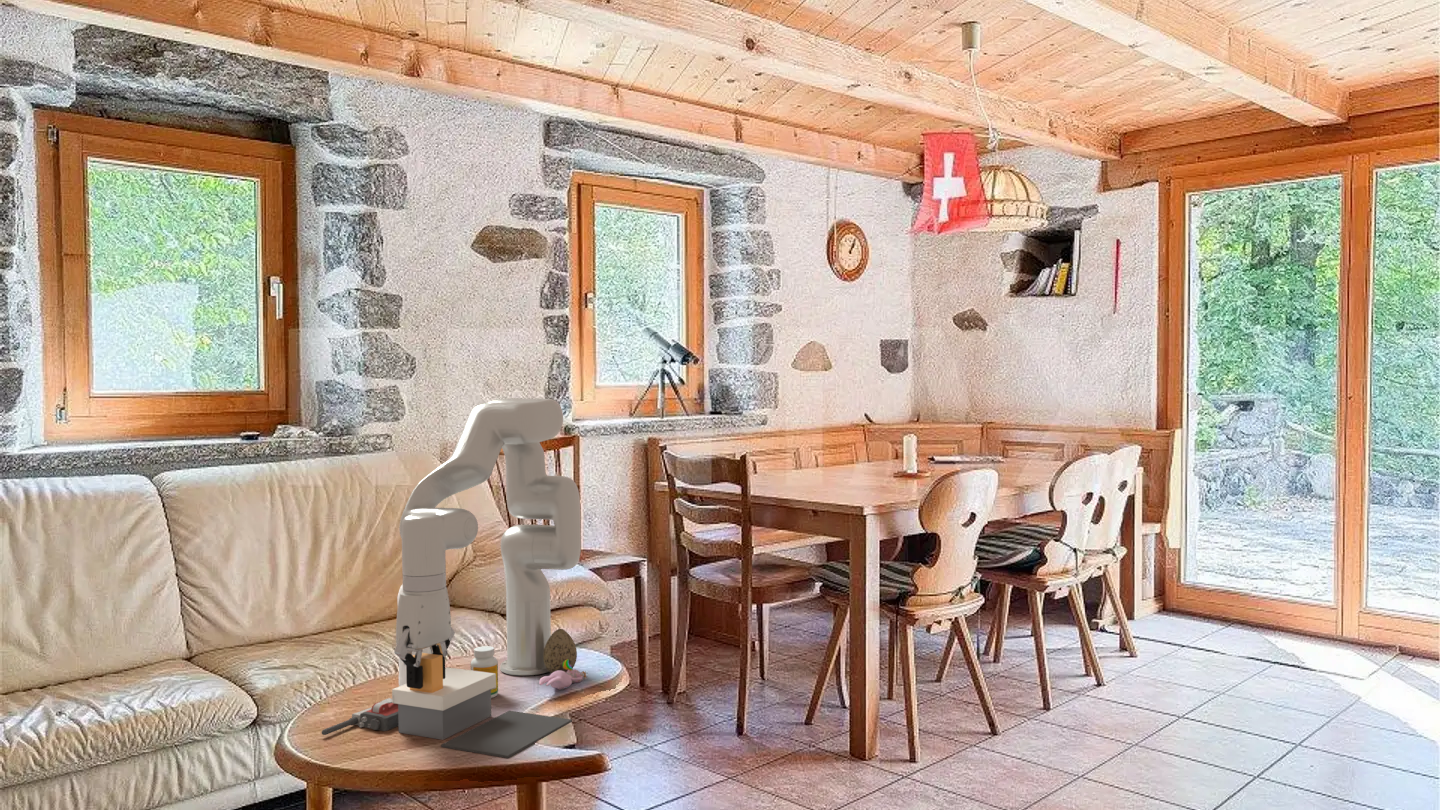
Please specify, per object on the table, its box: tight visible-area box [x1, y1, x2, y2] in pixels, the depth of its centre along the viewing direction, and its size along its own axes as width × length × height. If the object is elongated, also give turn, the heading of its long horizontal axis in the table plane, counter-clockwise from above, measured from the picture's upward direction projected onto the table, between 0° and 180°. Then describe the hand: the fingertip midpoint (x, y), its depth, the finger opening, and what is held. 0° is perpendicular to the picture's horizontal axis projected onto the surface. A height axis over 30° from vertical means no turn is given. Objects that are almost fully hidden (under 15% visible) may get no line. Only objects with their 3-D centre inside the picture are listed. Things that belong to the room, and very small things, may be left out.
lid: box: [391, 653, 496, 711], centre depth 193 cm, size 15×11×8 cm
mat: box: [440, 710, 573, 759], centre depth 188 cm, size 20×14×1 cm
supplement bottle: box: [470, 645, 499, 699], centre depth 211 cm, size 5×5×10 cm
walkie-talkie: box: [321, 697, 399, 736], centre depth 194 cm, size 9×4×20 cm
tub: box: [398, 689, 492, 741], centre depth 194 cm, size 14×10×7 cm
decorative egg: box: [543, 628, 578, 674], centre depth 224 cm, size 7×7×10 cm
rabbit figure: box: [538, 659, 588, 690], centre depth 216 cm, size 6×6×15 cm
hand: (426, 681), depth 189 cm, fingers open, 5 cm apart
